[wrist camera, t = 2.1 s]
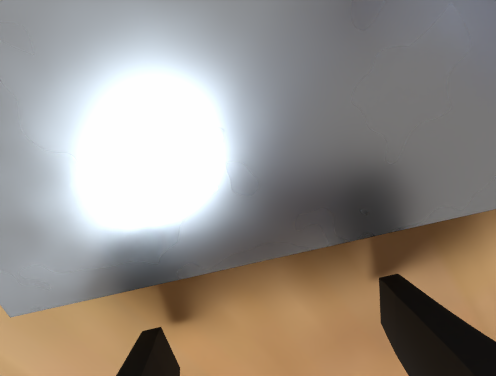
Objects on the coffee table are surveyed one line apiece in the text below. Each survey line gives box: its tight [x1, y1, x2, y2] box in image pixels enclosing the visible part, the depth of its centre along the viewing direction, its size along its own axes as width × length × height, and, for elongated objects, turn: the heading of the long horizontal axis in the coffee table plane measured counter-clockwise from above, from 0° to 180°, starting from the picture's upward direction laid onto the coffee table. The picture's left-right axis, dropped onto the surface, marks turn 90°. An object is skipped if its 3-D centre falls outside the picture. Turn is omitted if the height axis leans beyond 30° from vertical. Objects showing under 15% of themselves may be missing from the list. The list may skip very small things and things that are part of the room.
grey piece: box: [0, 0, 496, 317], centre depth 7 cm, size 12×9×3 cm
